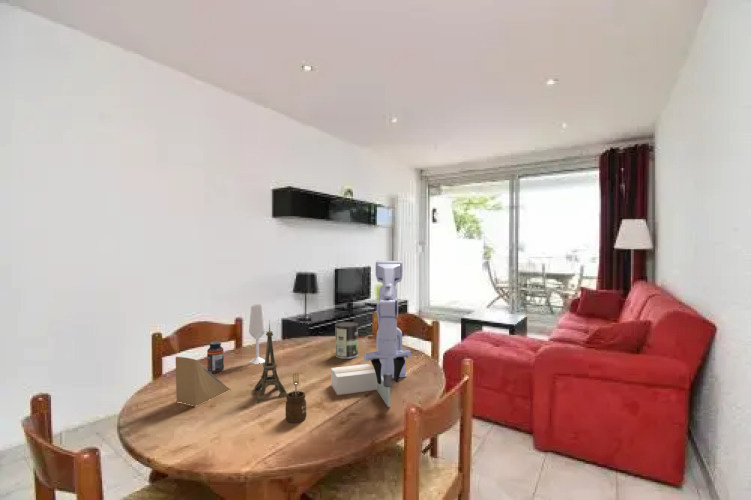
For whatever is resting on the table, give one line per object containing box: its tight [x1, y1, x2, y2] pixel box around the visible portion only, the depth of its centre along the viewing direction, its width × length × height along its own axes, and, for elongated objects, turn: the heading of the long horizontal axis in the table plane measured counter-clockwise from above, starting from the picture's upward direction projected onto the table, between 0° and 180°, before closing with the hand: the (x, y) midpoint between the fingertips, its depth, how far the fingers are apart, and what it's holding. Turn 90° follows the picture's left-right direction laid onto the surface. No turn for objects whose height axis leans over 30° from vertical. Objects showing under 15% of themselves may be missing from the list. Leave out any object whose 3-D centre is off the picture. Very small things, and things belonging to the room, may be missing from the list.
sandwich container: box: [175, 356, 232, 406], centre depth 126 cm, size 9×15×15 cm, turn 157°
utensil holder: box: [284, 373, 307, 423], centre depth 110 cm, size 6×6×12 cm
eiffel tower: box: [251, 319, 289, 403], centre depth 128 cm, size 11×11×25 cm
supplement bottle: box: [206, 340, 225, 373], centre depth 151 cm, size 6×6×11 cm
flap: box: [376, 373, 393, 408], centre depth 124 cm, size 14×3×10 cm, turn 14°
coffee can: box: [334, 321, 359, 360], centre depth 171 cm, size 10×10×14 cm
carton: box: [330, 363, 377, 396], centre depth 134 cm, size 14×10×6 cm
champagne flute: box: [248, 303, 267, 365], centre depth 162 cm, size 7×7×24 cm
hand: (387, 382), depth 118 cm, fingers open, 5 cm apart
